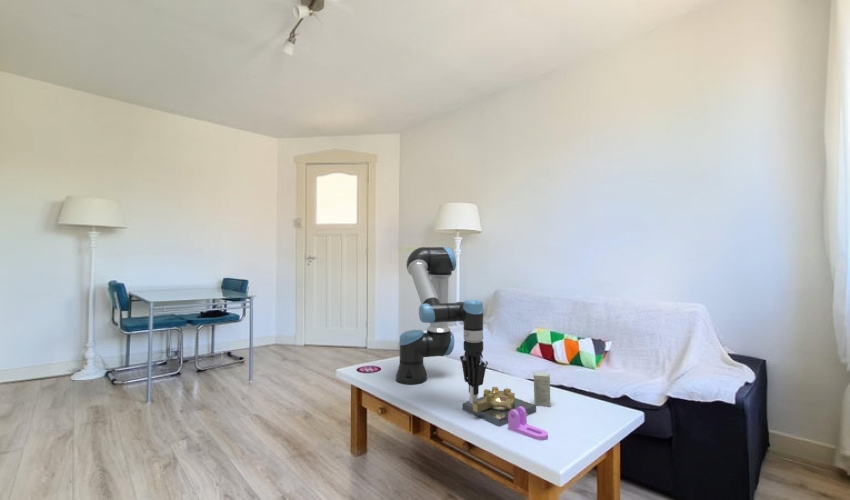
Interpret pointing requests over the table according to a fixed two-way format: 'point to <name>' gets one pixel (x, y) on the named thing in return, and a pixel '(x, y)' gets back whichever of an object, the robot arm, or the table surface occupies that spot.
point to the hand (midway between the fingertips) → (473, 402)
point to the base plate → (499, 411)
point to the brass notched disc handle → (495, 400)
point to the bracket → (524, 425)
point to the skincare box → (542, 389)
